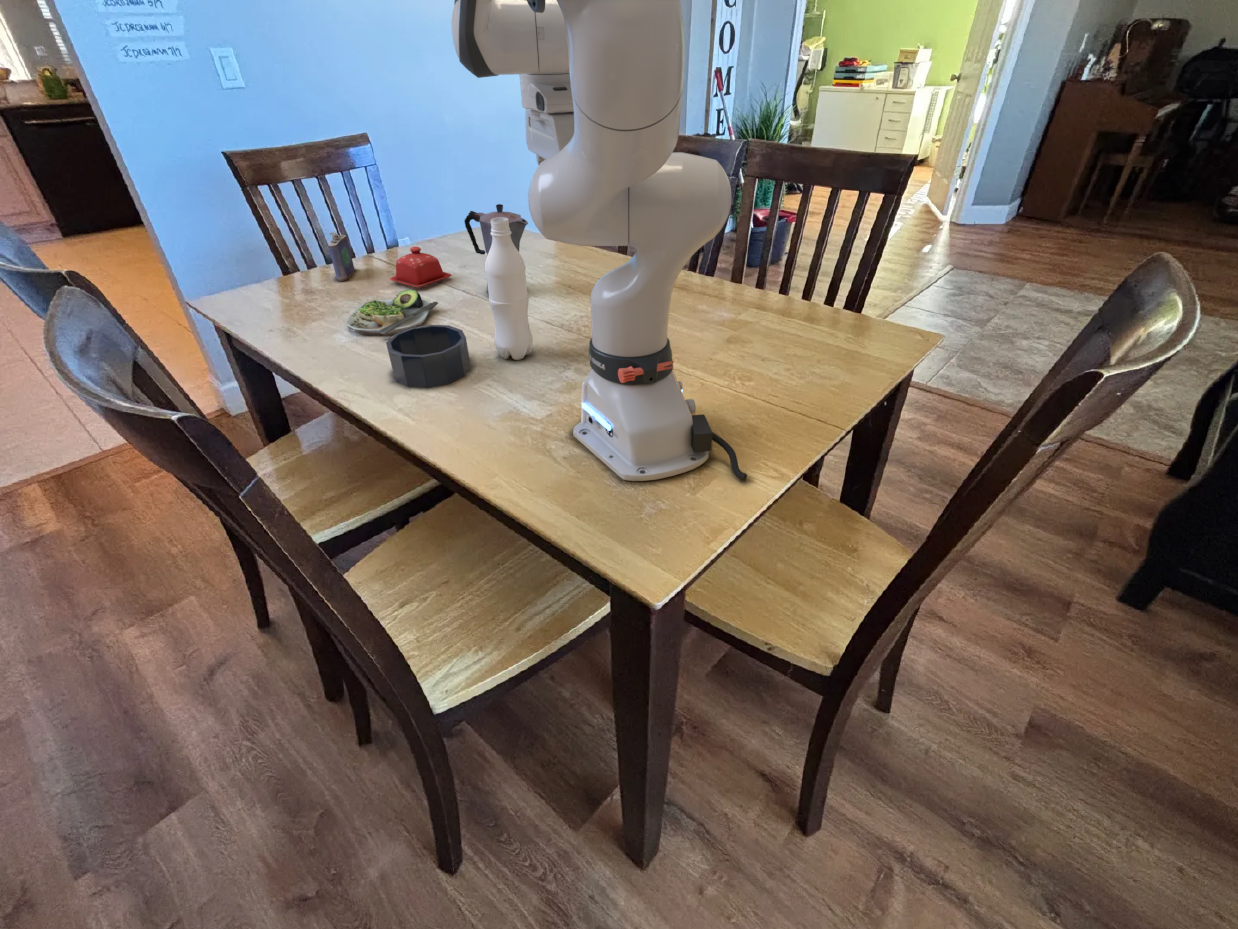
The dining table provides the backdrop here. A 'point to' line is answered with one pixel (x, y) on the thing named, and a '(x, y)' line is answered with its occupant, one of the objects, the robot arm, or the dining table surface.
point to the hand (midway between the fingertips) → (555, 188)
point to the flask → (341, 256)
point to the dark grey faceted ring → (429, 355)
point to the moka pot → (514, 221)
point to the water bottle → (508, 293)
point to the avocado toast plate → (390, 314)
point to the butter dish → (418, 269)
